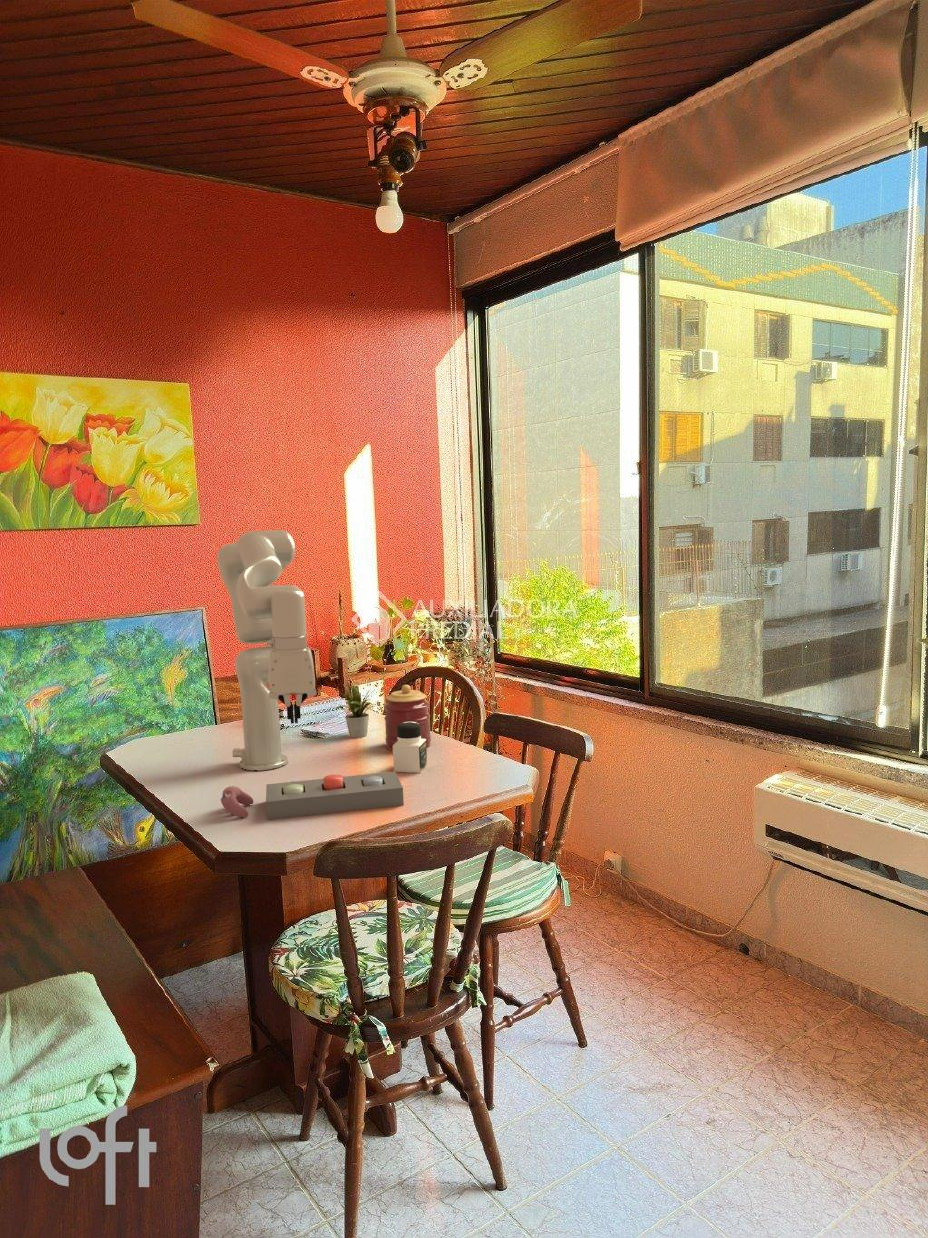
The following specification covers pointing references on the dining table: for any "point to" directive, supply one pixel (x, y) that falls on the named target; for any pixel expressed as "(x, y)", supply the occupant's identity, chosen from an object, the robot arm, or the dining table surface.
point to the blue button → (372, 781)
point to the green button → (293, 789)
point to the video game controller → (236, 801)
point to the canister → (406, 713)
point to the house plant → (356, 713)
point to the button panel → (333, 796)
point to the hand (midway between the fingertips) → (294, 721)
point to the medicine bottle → (409, 749)
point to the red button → (333, 782)
